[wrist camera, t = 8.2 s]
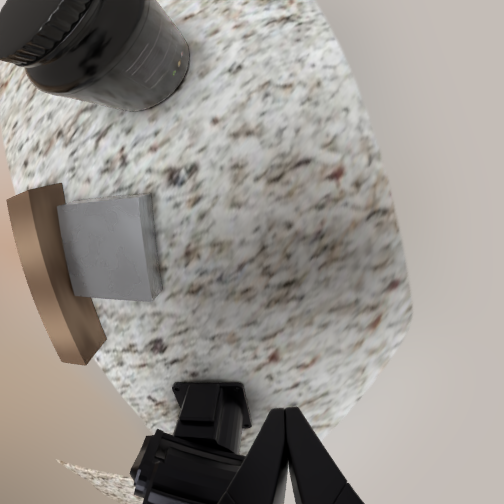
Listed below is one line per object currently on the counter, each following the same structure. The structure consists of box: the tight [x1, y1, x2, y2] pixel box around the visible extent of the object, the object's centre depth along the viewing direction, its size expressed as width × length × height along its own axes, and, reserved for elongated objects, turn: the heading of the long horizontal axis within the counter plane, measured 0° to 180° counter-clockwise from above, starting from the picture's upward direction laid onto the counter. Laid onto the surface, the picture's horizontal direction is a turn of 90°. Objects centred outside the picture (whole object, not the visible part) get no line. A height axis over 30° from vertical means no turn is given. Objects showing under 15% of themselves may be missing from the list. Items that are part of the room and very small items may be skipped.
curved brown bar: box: [7, 183, 106, 365], centre depth 18 cm, size 14×3×4 cm, turn 8°
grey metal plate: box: [57, 193, 162, 302], centre depth 18 cm, size 7×7×2 cm
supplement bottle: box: [0, 0, 189, 111], centre depth 9 cm, size 7×7×12 cm
